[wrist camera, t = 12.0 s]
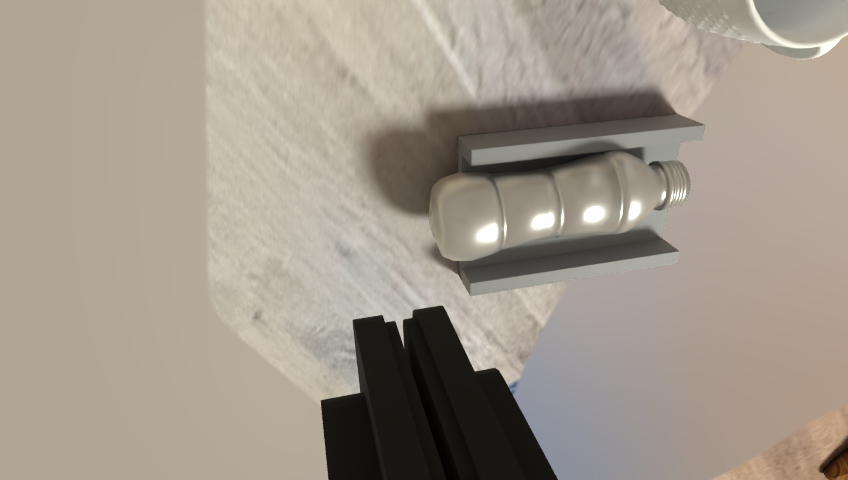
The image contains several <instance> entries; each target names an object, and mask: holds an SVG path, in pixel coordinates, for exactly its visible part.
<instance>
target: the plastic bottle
mask: <svg viewBox="0 0 848 480" xmlns="http://www.w3.org/2000/svg"><path fill="white" fill-rule="evenodd" d="M689 193H690V179H689V174H688V172H687V169H686V168H685V166H684V165H683V164H682V163H681V162H679V161H676V160H670V161H653V162H650V163H649V164H648V165H647V164H646V163H645V162H643V161H642V160H640V159H639V158H637V157H635V156H633V155H631V154H629V153H627V152H624V151H617V150H610V151H604V152H599V153H597V154H593V155H590V156H587V157H583V158H580V159H577V160H574V161H570V162H567V163H563V164H559V165H554V166H549V167H546V168H539V169H535V170H530V171H517V172H502V173H490V174H489V173H486V172H458V173H455V174H452V175H449V176H446V177H443V178H441V179H440V180H439V181H437V182H436V183H435V184H434V185H433V186H432V189H431V196H430V207H429V224H430V229H431V231H432V233H433V236H434V238H435V241H436V243H437V246H438V248H439V251H440V253H441V255H442V256H443V257H445V258H448V259H450V260H453V261H473V260H476V259H479V258H482V257H486V256H489V255H491V254H494V253H496V252H499V250H500V249H501V250H503V249H506V248H510V247H514V246H518V245H522V244H526V243H529V242H533V241H537V240H543V239H551V238H554V237H557V238H559V237H567V236H575V235H606V234H609V235H611V234H620V233H624V232H626V231H628V230H630V229H632V228H634V227H636V226H637V225H638V224H639V223H640V222H641V221H642V220H644V219H645V218H646V217H647V215H648V214H649V213H650V212H651V211H652V210H653V209H654V210H658V211H660V210H665V209H667V208H671V207H678V206H681V205H683V204H684V203H685V202H686V201H687V199H688V196H689Z"/></svg>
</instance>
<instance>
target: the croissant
mask: <svg viewBox="0 0 848 480" xmlns="http://www.w3.org/2000/svg"><path fill="white" fill-rule="evenodd" d="M823 473H824V475H825V476H826V478H827V479H829V480H848V449H847V450H846V451H844V452H843V453H841V454H840V455H839V456H837V457H836V458H835V459H834V460H833V461H832V462H830V464H829V465H828V466H827V467H826V468H825V470H824V471H823Z"/></svg>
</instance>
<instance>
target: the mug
mask: <svg viewBox="0 0 848 480" xmlns="http://www.w3.org/2000/svg"><path fill="white" fill-rule="evenodd" d="M659 2H660V4H661V5H663V6H665V7H666V9H667V10H668V11H670V12H672V13H674V14H675V16H677V17H679V18H682V19H683V20H685V21H686V22H687V23H690V24H693V25H695V26H696V27H697V28H703V29H705V30H707V31H708V32H714V33H718V34H720V35H722V36H728V37H733V38H735V39H739V40H747V41H750V42H753V43H761V44H762V45H764V46H765V47H767V48H769V49H771V50H772V51H775V52H776V53H779V54H781V55H784V56H787V57H790V58H795V59H812V58H816V57H819V56H821V55H823V54H824V53H826V52H828V51H829V50H830V49H831V48H833V47H834V46H835V45H836V44H837V43H838V41H839V40H840V39H841V38H842V37H844V36H846V35H848V0H659Z"/></svg>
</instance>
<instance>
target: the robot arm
mask: <svg viewBox="0 0 848 480" xmlns="http://www.w3.org/2000/svg"><path fill="white" fill-rule="evenodd" d="M353 330H354V339H355V348H356V357H357V366H358V375H359V384H360V393H357V394H352V395H347V396H341V397H336V398H331V399H325V400H321V409H322V419H323V429H324V439H325V448H326V459H327V468H328V479H329V480H558V479H557V477H556V475H555V474H554V472H553V470H552V468H551V466H550V464H549V462H548V460H547V459H546V457H545V455H544V453H543V451H542V449H541V448H540V445H539V444H538V442H537V440H536V438H535V436H534V434H533V432H532V430H531V429H530V427H529V425H528V423H527V421H526V419H525V417H524V415H523V414H522V412H521V410H520V408H519V406H518V404H517V402H516V401H515V399H514V397H513V395H512V393H511V391H510V389H509V387H508V386H507V384H506V382H505V380H504V378H503V376H502V375H501V373H500V372H499V370H497V369H496V368H492V369H487V370H481V371H476V372H475V371H474V369H473V367H472V365H471V363H470V361H469V359H468V357H467V355H466V352H465V350H464V348H463V346H462V344H461V342H460V340H459V338H458V336H457V333H456V331H455V329H454V327H453V325H452V323H451V321H450V319H449V317H448V315H447V312H446V310H445V308H444V307H443V306H436V307H429V308H423V309H417V310H414V311H413V318H410V319H404V320H403V333H404V347H403V344H402V340H401V337H400V334H399V331H398V328H397V325H396V322H395V321H392V322H386V323H385V321H384V318H383V316H382V315H380V316H373V317H367V318H361V319H355V320H353Z"/></svg>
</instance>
